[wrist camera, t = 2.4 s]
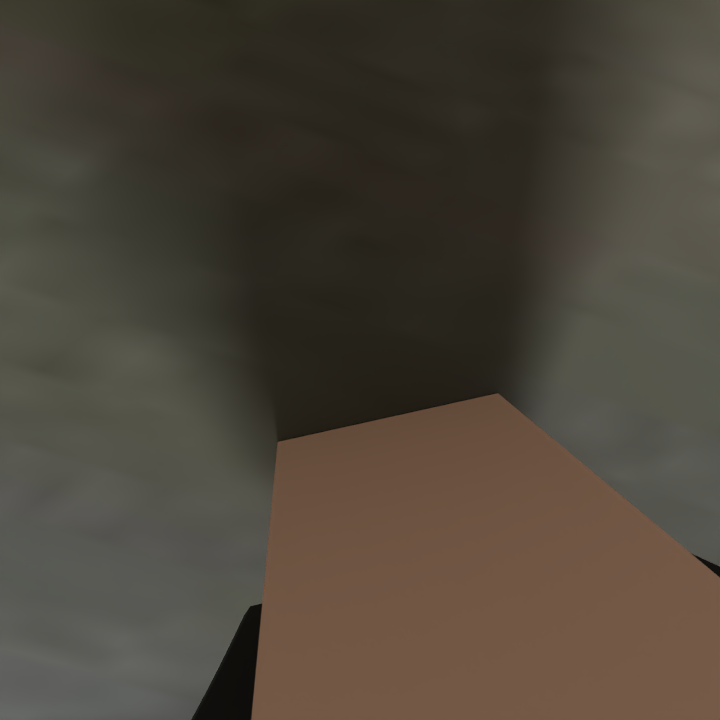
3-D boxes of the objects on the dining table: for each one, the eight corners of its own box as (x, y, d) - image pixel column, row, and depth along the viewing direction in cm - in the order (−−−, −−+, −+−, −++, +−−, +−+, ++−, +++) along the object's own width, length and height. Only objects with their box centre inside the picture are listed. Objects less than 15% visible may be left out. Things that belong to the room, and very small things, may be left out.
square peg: (497, 393, 10) (860, 694, 4) (522, 581, 12) (833, 1075, 5) (277, 441, 10) (236, 863, 3) (324, 629, 11) (363, 1221, 5)
